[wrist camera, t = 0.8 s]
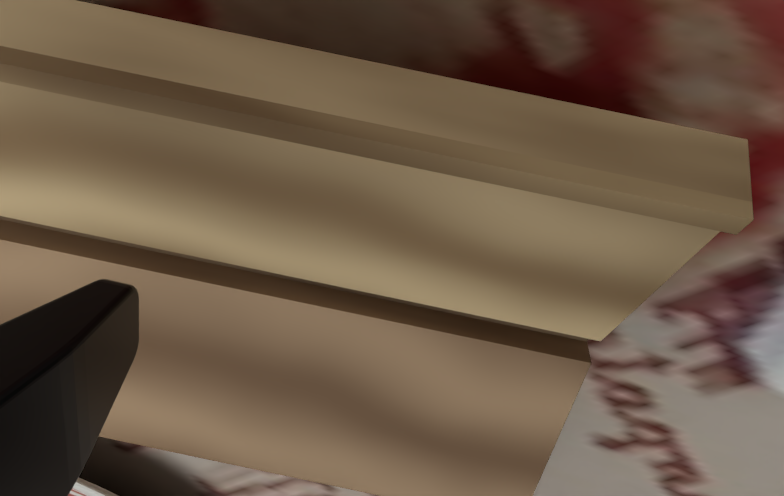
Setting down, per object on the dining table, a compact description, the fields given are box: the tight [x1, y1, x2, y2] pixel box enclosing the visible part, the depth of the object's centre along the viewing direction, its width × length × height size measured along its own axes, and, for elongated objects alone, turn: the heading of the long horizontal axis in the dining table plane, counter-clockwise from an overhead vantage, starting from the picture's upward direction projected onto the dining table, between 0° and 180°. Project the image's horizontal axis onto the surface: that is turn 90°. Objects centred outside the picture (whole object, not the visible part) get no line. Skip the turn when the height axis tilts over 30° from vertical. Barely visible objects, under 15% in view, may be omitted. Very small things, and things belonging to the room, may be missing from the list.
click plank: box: [0, 0, 754, 341], centre depth 17 cm, size 8×20×2 cm, turn 81°
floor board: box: [0, 216, 591, 496], centre depth 23 cm, size 9×20×2 cm, turn 80°
